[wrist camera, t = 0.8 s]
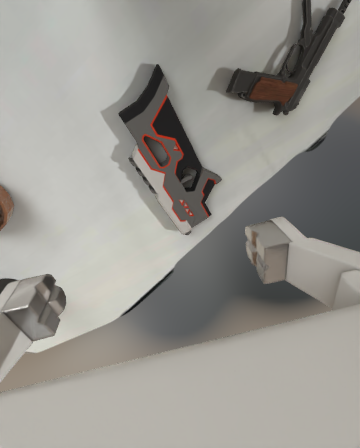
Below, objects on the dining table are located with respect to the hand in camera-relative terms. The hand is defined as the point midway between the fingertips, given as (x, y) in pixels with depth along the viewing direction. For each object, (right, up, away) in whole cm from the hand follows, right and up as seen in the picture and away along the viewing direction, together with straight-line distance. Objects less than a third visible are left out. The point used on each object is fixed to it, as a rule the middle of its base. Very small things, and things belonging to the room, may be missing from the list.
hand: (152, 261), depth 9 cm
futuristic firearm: (0, +15, +40) cm, 43 cm away
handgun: (+20, +34, +32) cm, 51 cm away
